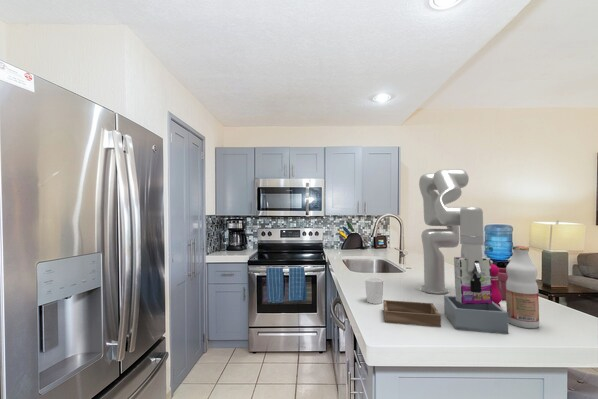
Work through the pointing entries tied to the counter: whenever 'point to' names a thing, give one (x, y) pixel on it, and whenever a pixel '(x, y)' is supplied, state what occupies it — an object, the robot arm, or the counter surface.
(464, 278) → the snack bar box
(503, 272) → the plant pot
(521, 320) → the fruit juice
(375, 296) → the white cup
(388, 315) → the wooden rectangular frame
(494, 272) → the pepper mill
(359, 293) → the counter surface
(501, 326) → the slate bin
